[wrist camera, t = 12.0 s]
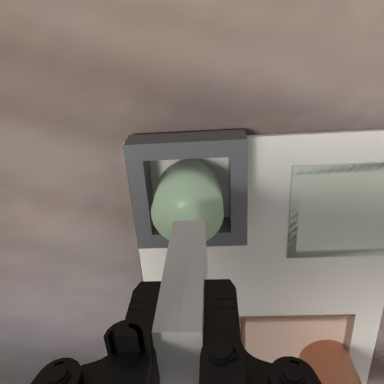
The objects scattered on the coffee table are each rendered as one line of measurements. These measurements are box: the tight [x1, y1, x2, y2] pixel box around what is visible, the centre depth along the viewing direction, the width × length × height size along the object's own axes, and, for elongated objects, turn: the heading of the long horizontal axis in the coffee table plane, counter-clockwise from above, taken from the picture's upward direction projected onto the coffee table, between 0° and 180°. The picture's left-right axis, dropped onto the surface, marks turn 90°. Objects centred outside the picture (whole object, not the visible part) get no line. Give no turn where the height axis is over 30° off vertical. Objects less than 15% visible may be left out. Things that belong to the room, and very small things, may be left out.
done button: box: [151, 160, 224, 241], centre depth 21 cm, size 4×4×3 cm
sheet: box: [123, 129, 384, 384], centre depth 27 cm, size 18×26×1 cm
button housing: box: [123, 129, 248, 249], centre depth 22 cm, size 7×7×2 cm
